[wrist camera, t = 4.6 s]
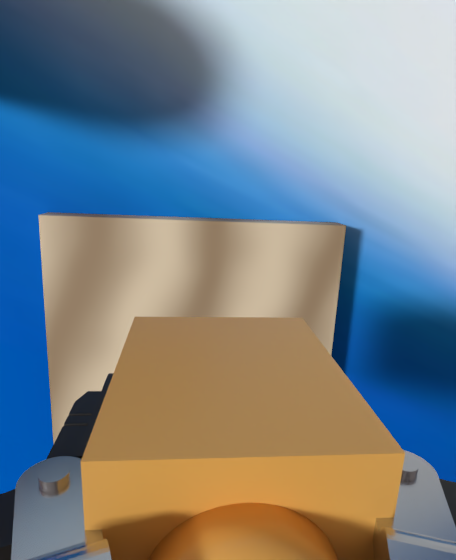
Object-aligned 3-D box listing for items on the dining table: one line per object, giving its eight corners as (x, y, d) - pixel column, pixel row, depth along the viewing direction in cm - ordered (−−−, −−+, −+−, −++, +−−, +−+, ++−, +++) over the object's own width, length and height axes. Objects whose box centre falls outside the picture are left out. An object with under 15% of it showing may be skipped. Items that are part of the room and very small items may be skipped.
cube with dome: (302, 317, 12) (453, 517, 5) (289, 458, 13) (398, 773, 6) (134, 316, 12) (53, 533, 5) (137, 462, 13) (76, 807, 6)
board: (336, 222, 24) (374, 234, 19) (307, 486, 28) (332, 550, 24) (48, 212, 22) (10, 223, 17) (65, 495, 27) (38, 566, 22)
